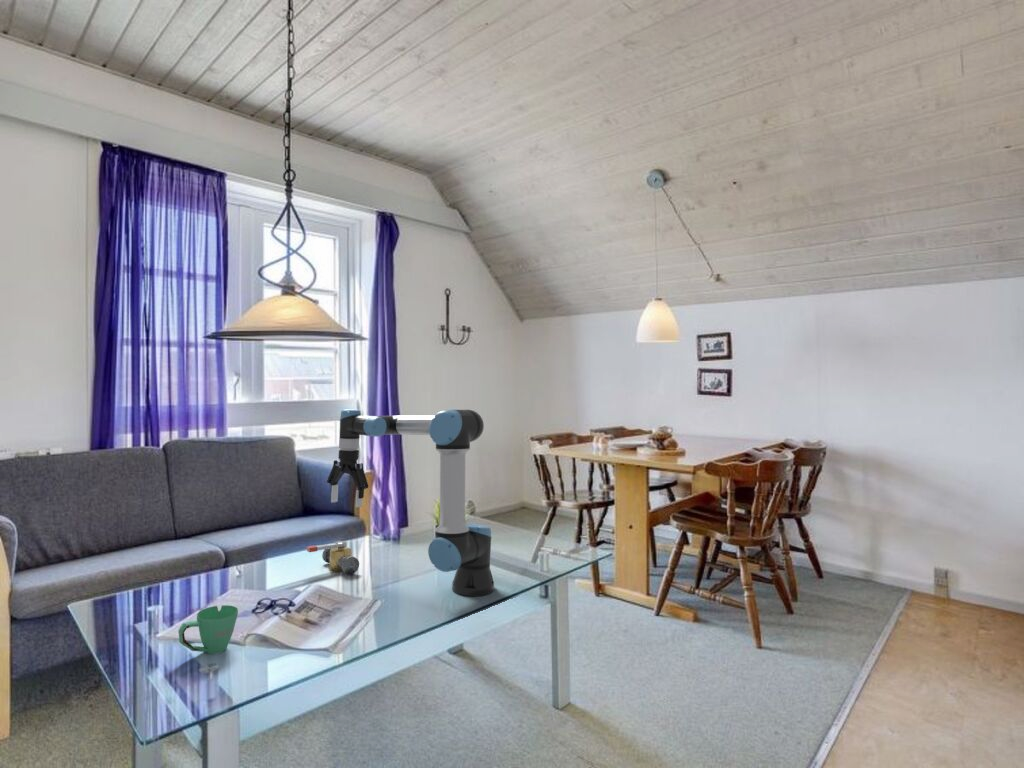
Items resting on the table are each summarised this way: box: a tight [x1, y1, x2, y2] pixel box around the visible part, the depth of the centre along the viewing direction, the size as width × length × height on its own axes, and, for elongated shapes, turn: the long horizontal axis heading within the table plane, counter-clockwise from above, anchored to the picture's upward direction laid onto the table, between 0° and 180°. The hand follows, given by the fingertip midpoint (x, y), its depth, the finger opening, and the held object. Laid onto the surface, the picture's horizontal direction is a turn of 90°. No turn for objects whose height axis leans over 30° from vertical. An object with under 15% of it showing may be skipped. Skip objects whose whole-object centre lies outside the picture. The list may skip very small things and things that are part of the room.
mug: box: [178, 604, 239, 655], centre depth 151 cm, size 15×10×10 cm
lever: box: [306, 540, 348, 553], centre depth 222 cm, size 15×4×2 cm, turn 131°
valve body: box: [321, 546, 360, 576], centre depth 225 cm, size 20×8×8 cm, turn 41°
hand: (346, 504), depth 222 cm, fingers open, 13 cm apart
